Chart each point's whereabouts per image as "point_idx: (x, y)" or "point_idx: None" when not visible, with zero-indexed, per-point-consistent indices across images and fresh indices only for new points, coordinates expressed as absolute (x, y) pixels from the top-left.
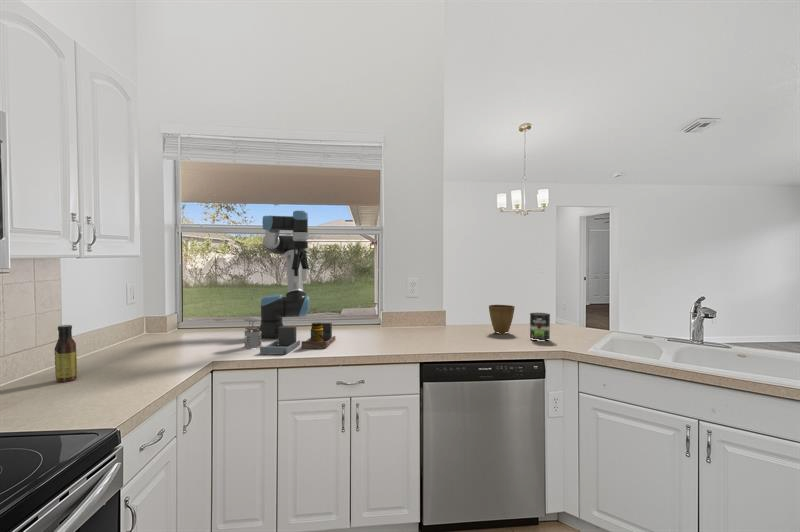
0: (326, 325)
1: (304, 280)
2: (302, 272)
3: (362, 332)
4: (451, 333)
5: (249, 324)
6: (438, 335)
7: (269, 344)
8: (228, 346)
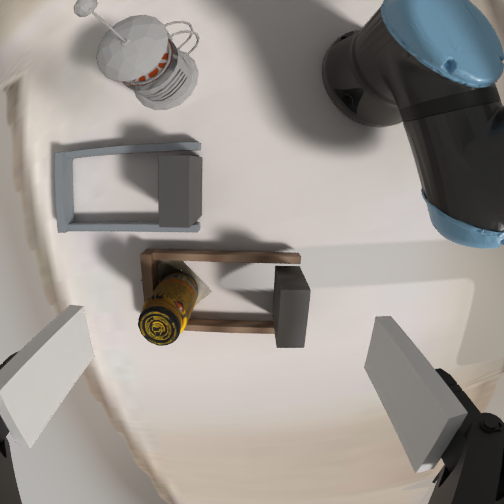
0: (277, 330)
1: (371, 352)
2: (418, 393)
3: None
4: (356, 499)
5: (186, 22)
6: (339, 491)
7: (121, 147)
8: (181, 4)
